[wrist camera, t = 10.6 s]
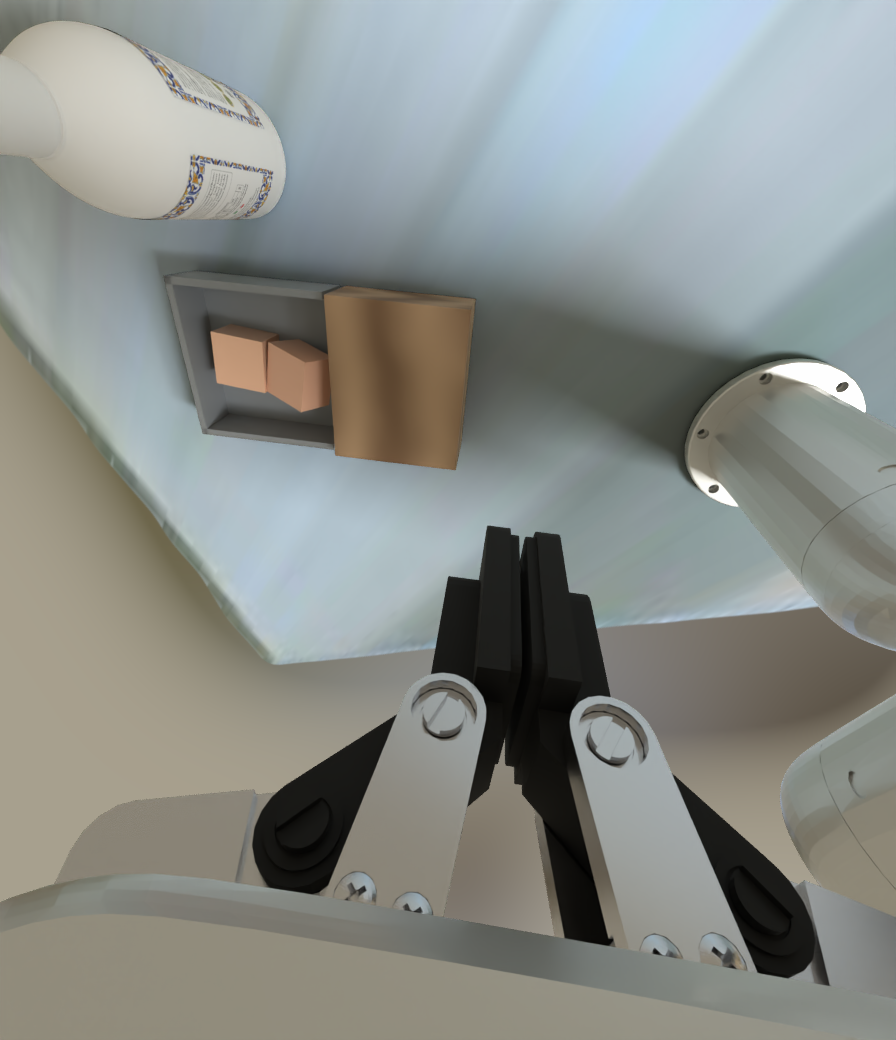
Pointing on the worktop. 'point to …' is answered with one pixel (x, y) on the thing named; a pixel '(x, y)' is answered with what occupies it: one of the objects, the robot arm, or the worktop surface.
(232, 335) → the light orange block
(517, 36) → the worktop surface
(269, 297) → the tray
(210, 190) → the bath foam
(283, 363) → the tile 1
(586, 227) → the worktop surface
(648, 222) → the worktop surface
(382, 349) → the brown slab
